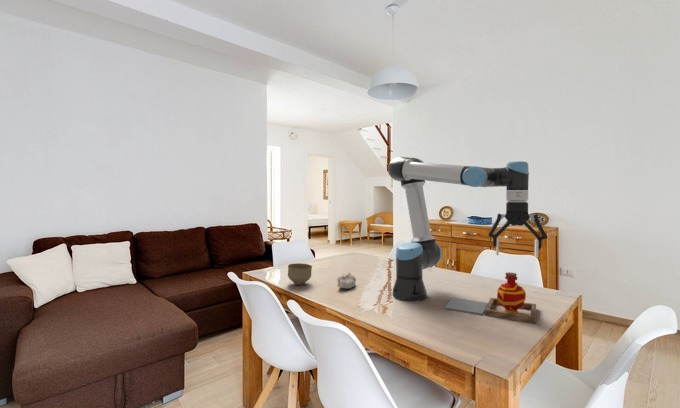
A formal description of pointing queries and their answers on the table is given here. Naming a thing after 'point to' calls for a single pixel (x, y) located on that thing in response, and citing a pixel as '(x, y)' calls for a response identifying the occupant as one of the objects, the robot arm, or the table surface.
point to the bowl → (299, 273)
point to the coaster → (466, 306)
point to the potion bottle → (511, 294)
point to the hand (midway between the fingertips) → (516, 255)
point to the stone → (346, 281)
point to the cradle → (511, 315)
